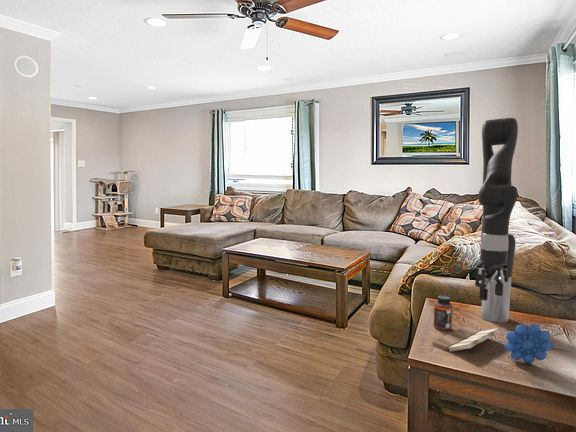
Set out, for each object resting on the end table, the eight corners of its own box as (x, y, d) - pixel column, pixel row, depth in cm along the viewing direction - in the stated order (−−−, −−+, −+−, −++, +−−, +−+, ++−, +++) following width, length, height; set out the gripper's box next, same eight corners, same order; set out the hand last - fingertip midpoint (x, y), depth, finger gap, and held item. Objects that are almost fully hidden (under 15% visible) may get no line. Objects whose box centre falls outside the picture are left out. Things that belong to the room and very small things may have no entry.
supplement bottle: (453, 331, 126) (454, 300, 125) (435, 330, 128) (436, 299, 127) (449, 325, 132) (450, 295, 131) (431, 323, 133) (433, 294, 132)
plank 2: (481, 335, 124) (479, 331, 124) (501, 331, 119) (499, 327, 119) (466, 342, 118) (465, 339, 118) (486, 339, 113) (484, 335, 113)
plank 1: (465, 343, 118) (464, 339, 118) (485, 339, 112) (484, 335, 113) (449, 351, 112) (447, 347, 112) (469, 348, 106) (468, 344, 107)
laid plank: (464, 329, 128) (464, 326, 128) (479, 334, 124) (480, 331, 124) (432, 344, 116) (432, 341, 116) (448, 351, 112) (448, 347, 112)
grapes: (549, 362, 106) (552, 322, 104) (552, 372, 100) (555, 330, 99) (503, 352, 112) (505, 314, 110) (503, 361, 106) (506, 322, 105)
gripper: (495, 244, 121) (492, 291, 123) (469, 248, 114) (466, 297, 115) (518, 247, 115) (515, 297, 116) (493, 252, 107) (489, 304, 109)
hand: (491, 297), depth 116 cm, fingers open, 8 cm apart
